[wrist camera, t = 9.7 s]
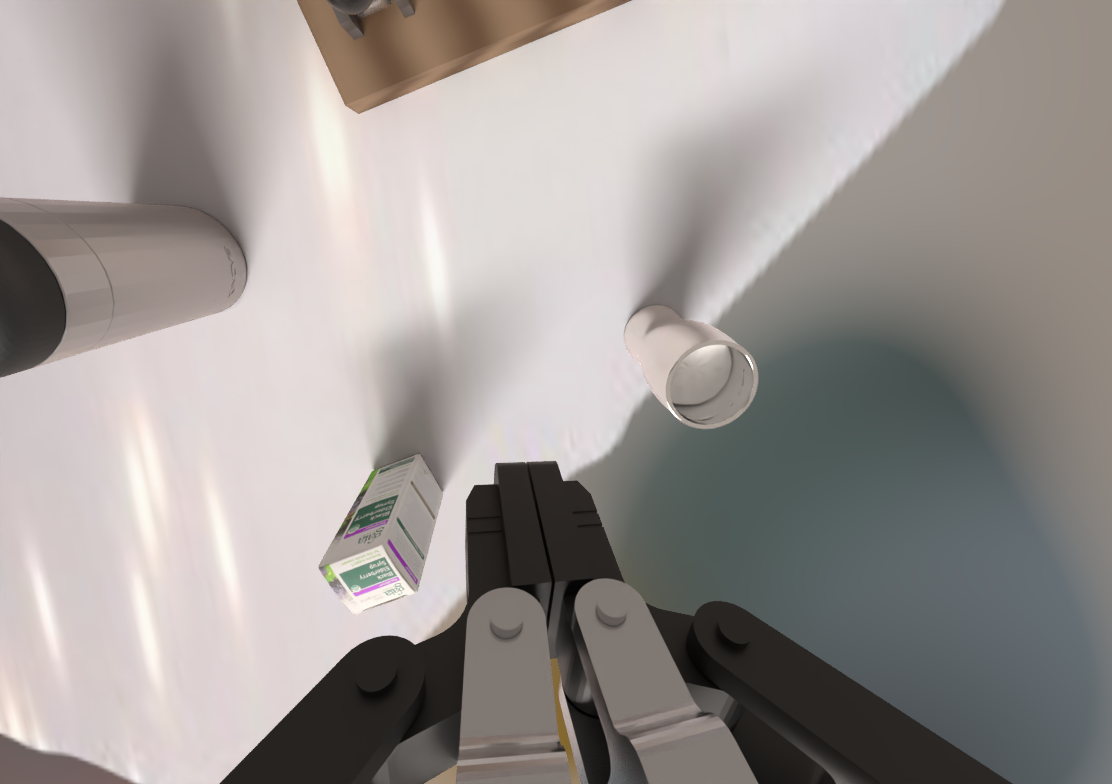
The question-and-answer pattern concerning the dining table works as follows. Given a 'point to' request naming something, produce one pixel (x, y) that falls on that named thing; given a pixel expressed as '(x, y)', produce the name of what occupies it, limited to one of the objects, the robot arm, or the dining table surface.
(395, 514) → the syrup box
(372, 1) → the black lever
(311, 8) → the switch panel
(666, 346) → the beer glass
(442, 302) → the dining table surface
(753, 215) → the dining table surface
